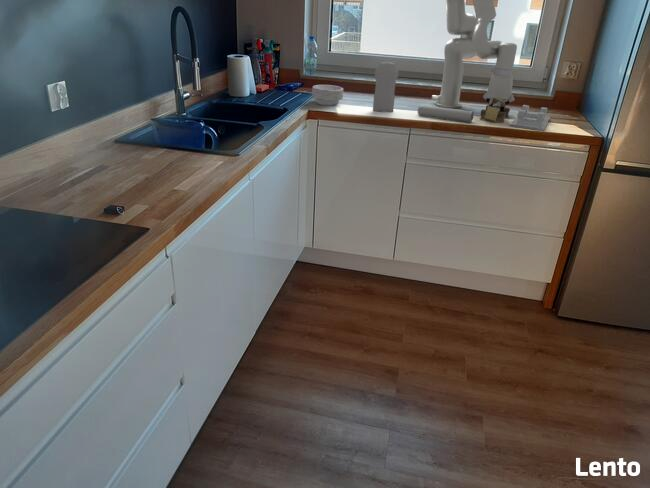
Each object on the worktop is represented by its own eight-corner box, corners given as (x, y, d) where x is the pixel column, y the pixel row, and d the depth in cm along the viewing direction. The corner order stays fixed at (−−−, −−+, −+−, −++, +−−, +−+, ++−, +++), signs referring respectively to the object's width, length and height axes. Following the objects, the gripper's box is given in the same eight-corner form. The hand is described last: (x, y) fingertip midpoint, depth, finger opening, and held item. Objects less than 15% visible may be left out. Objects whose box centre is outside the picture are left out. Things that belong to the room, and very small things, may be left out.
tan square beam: (484, 118, 226) (487, 107, 223) (494, 108, 245) (497, 98, 242) (495, 120, 224) (498, 109, 221) (504, 110, 243) (507, 100, 241)
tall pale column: (372, 111, 236) (376, 62, 226) (371, 109, 240) (375, 61, 230) (394, 112, 237) (399, 63, 227) (393, 110, 241) (398, 61, 230)
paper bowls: (348, 103, 251) (349, 86, 247) (332, 108, 239) (332, 91, 236) (322, 99, 258) (323, 82, 254) (305, 103, 247) (306, 87, 243)
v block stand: (509, 126, 221) (512, 112, 218) (518, 115, 242) (521, 102, 239) (543, 131, 216) (547, 117, 213) (549, 119, 237) (552, 106, 234)
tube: (415, 107, 231) (470, 114, 221) (419, 102, 234) (474, 108, 224) (415, 118, 234) (469, 125, 224) (419, 112, 237) (473, 119, 228)
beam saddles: (479, 119, 231) (481, 110, 229) (486, 113, 243) (487, 104, 241) (503, 122, 227) (504, 113, 225) (508, 116, 239) (510, 107, 237)
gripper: (482, 71, 226) (475, 113, 234) (521, 75, 219) (512, 118, 228) (485, 69, 232) (478, 110, 240) (523, 73, 225) (515, 114, 234)
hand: (495, 113), depth 234 cm, fingers closed on tan square beam, 4 cm apart
